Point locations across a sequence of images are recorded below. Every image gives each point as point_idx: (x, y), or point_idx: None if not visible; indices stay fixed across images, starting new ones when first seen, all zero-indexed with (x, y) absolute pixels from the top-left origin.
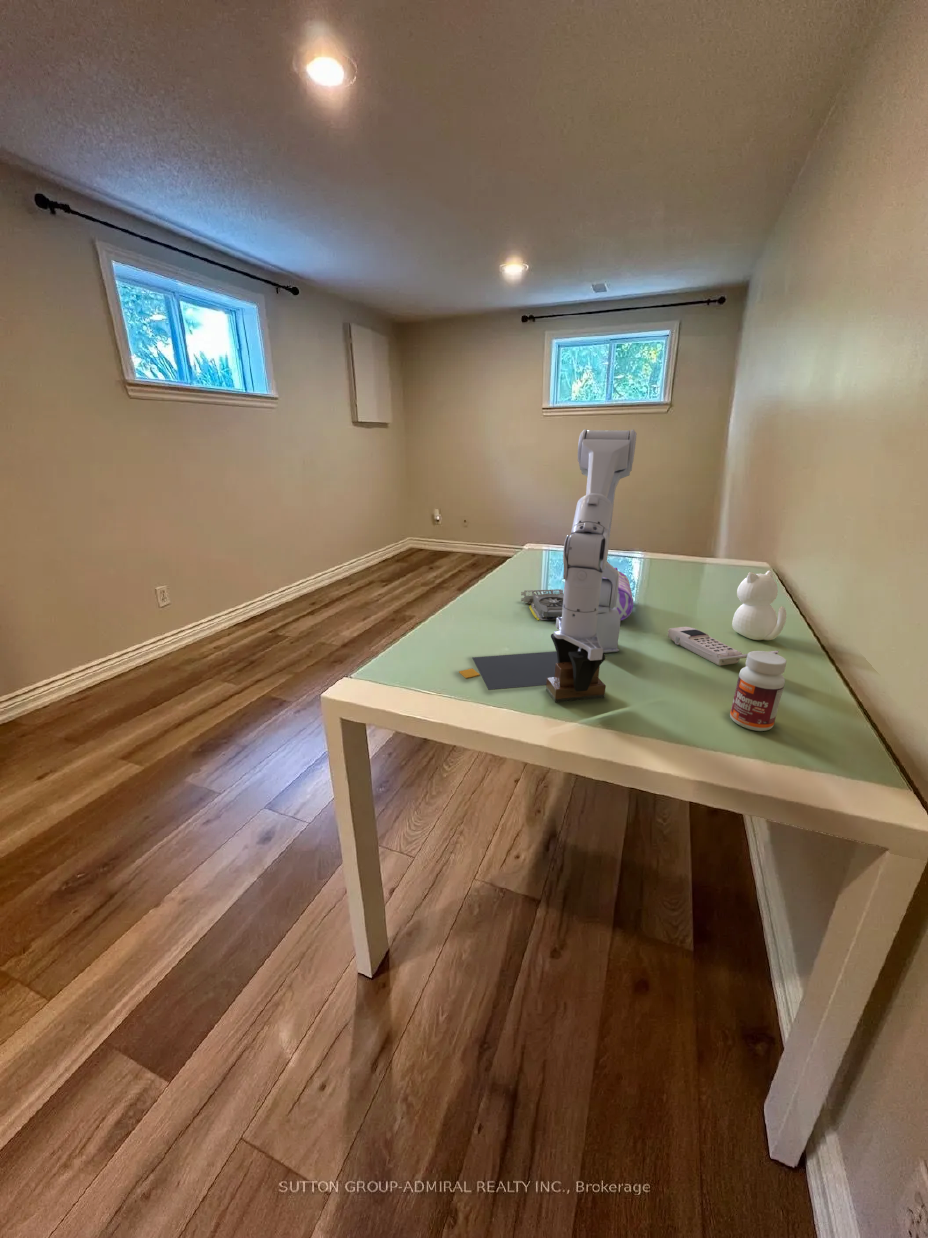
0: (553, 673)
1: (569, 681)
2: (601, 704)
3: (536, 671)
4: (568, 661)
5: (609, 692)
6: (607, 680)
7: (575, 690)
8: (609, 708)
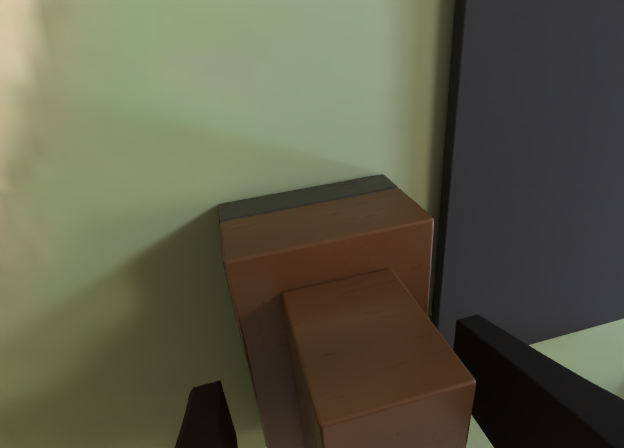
0: (554, 250)
1: (297, 377)
2: None
3: (614, 161)
4: (516, 431)
5: None
6: None
7: (203, 385)
8: None
